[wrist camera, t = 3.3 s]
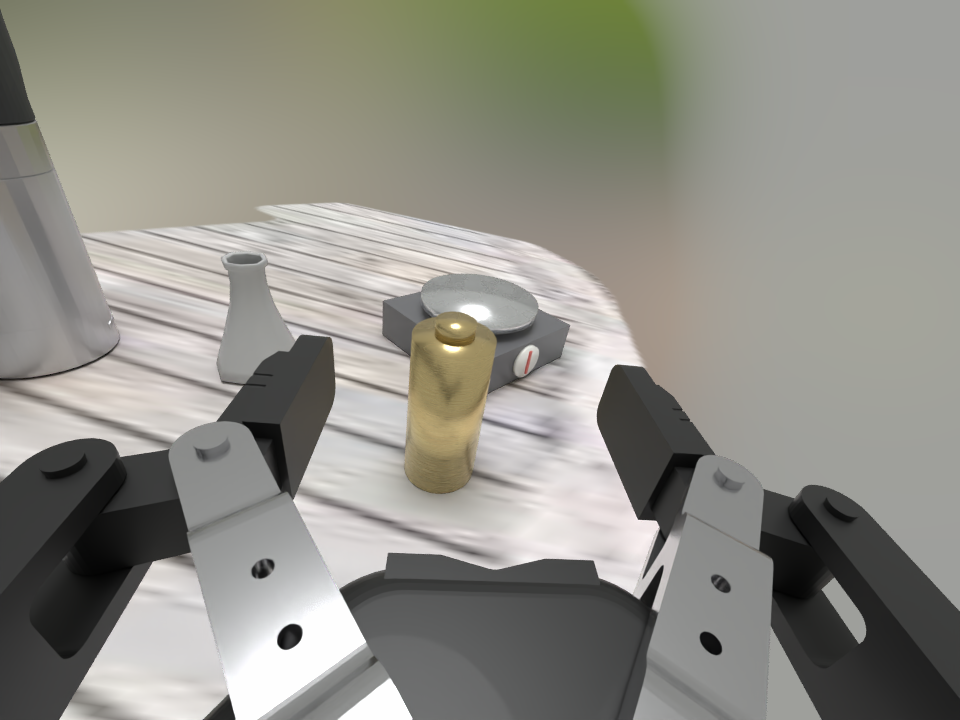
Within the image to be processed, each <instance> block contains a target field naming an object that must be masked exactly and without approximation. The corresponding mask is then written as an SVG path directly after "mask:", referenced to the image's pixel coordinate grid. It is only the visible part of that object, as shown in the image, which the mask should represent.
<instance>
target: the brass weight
mask: <svg viewBox="0 0 960 720" xmlns="http://www.w3.org/2000/svg"><path fill="white" fill-rule="evenodd" d="M496 345H497V340H496V337H495V335H494V333H493V332H492V331H491V330H490V329H489V328H487V327H486V326H484V325H482V324H480V323H478V322H477V321H476V319H475V318H474V317H472V316H470V315H468V314H465V313H462V312H454V311H450V312H444V313H441V314H439V315H438V316H437V317H432V318H428V319H426V320H423V321H421V322H419V323H418V324H417V325H416V326H415V327H414V328H413V330H412V341H411V358H410V376H409V393H408V411H407V429H406V446H405V464H404V468H405V473H406V475H407V477H408V479H409V480H410V481H411V482H412V483H413V484H414V485H415V486H416V487H418V488H420V489H422V490H424V491H427V492H430V493H438V494H442V493H450V492H453V491H456V490H458V489H460V488H462V487H463V486H464V485H465V484H466V483H467V482H468V481H469V480H470V478H471V476H472V472H473V467H474V461H475V456H476V451H477V446H478V440H479V435H480V430H481V424H482V419H483V414H484V408H485V403H486V398H487V392H488V387H489V382H490V376H491V371H492V366H493V361H494V355H495V350H496Z"/></svg>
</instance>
